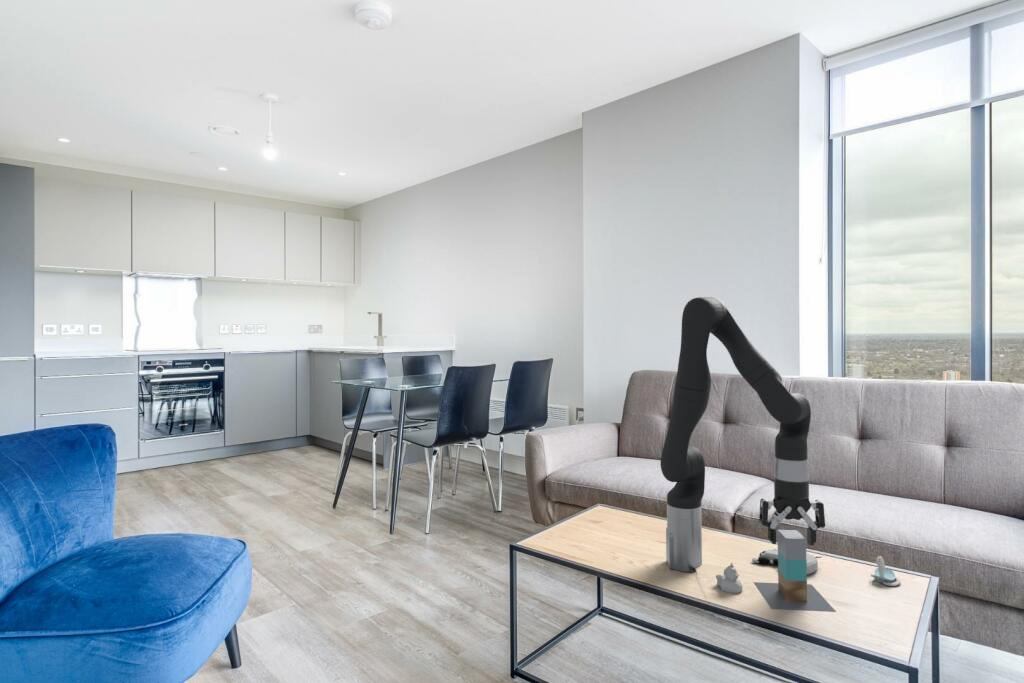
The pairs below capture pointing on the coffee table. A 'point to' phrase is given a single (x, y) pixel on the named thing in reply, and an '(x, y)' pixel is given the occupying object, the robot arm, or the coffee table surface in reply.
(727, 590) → the rubber duck
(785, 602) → the base plate
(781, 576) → the base brick
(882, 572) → the pacifier
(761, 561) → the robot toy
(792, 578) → the teal brick
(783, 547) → the grey brick
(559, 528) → the coffee table surface
